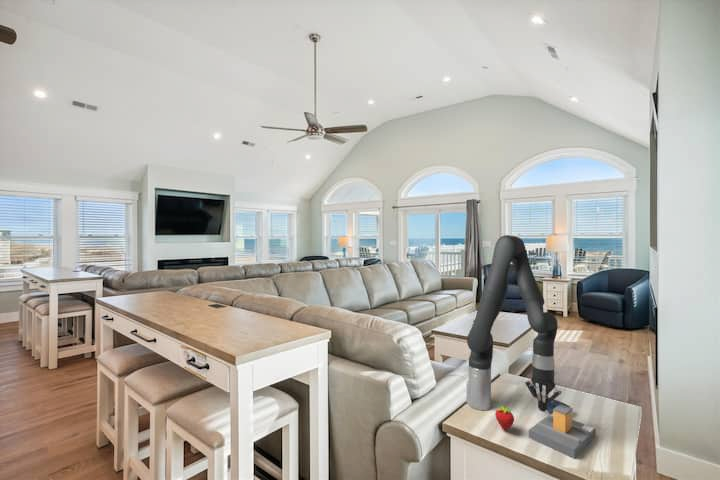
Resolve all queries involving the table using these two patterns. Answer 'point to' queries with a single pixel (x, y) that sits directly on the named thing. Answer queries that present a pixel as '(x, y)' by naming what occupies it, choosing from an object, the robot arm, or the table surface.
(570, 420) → the breaker toggle
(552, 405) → the seashell
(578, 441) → the panel
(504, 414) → the strawberry
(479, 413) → the table surface
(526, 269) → the robot arm
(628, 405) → the table surface
